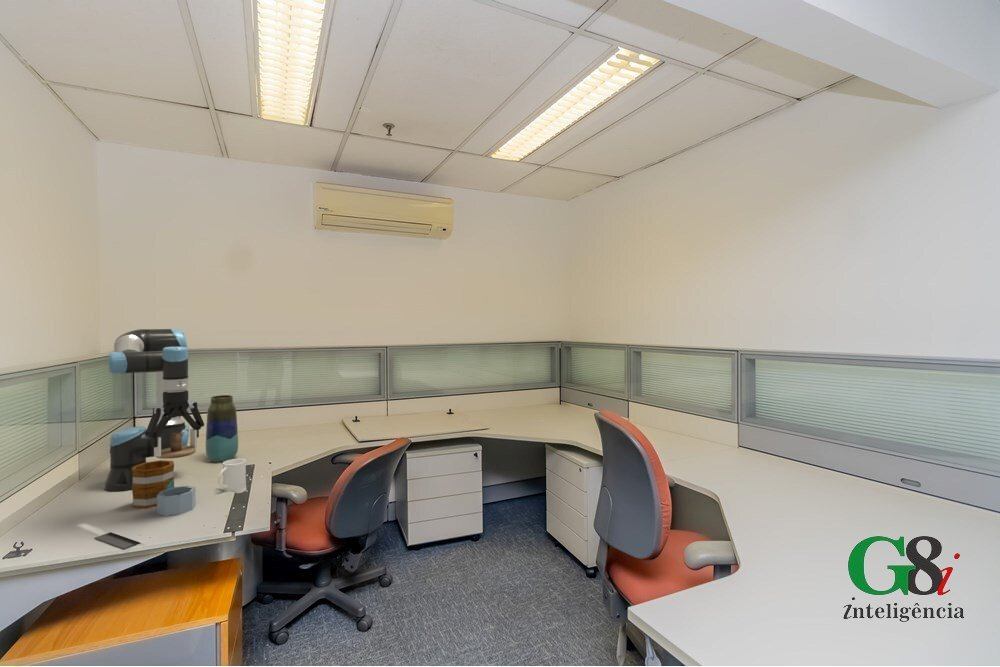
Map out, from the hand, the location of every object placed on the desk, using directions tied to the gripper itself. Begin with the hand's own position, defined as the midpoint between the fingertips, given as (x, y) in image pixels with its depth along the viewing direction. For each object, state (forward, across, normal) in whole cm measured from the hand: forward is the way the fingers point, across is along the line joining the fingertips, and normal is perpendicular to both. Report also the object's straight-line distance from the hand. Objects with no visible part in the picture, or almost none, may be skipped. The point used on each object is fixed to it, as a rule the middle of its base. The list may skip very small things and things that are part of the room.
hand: (176, 451), depth 167 cm
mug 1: (+23, +3, +17) cm, 28 cm away
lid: (+1, 0, 0) cm, 1 cm away
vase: (+23, +49, +46) cm, 71 cm away
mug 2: (+23, +22, +2) cm, 31 cm away
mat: (+22, -16, -5) cm, 28 cm away
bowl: (+22, 0, 0) cm, 22 cm away
